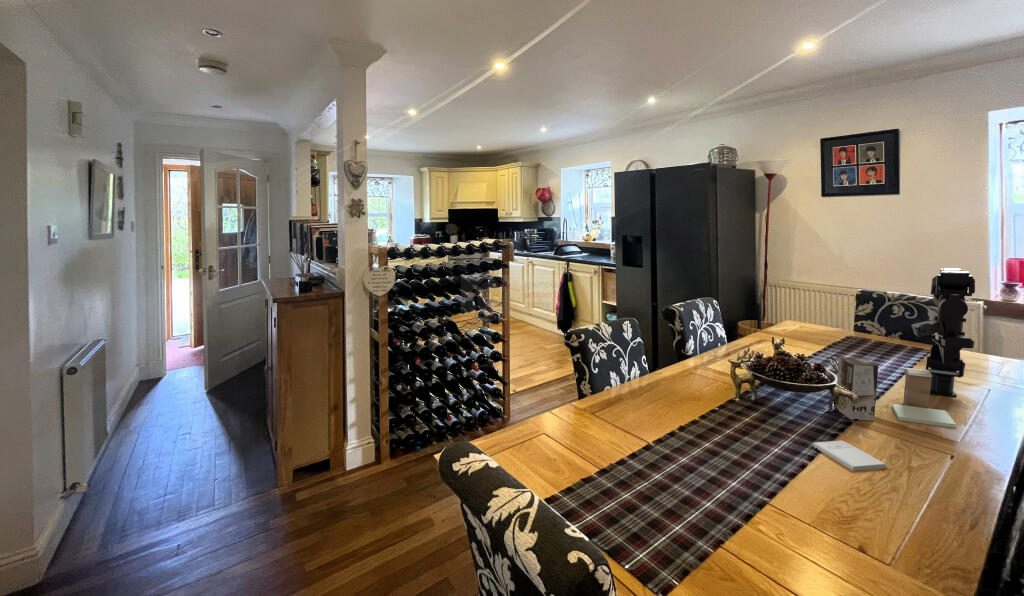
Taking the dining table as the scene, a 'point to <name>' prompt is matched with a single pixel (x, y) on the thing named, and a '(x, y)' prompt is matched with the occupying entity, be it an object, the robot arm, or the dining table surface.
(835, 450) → the external hard drive
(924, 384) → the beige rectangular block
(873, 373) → the coffee box
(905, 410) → the mat
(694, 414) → the dining table surface
